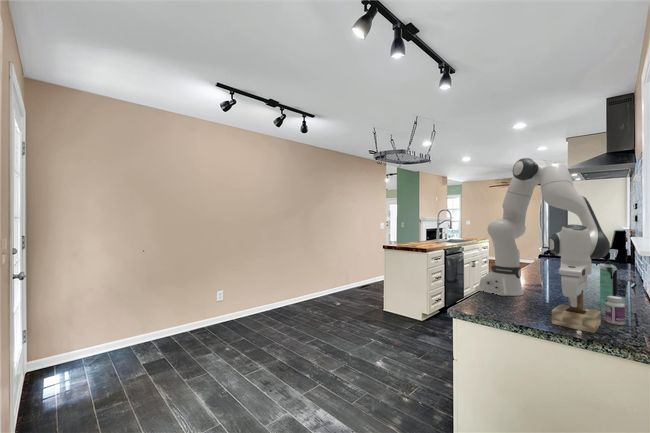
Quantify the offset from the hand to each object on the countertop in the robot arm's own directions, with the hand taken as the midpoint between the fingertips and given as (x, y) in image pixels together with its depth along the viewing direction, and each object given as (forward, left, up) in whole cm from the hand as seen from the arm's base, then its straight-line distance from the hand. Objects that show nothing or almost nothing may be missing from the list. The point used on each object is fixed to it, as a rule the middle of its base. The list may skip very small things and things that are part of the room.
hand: (575, 305), depth 111 cm
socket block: (0, 0, -7) cm, 7 cm away
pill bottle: (+9, +13, -7) cm, 17 cm away
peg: (0, 0, -4) cm, 4 cm away
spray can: (+4, +39, -7) cm, 40 cm away
